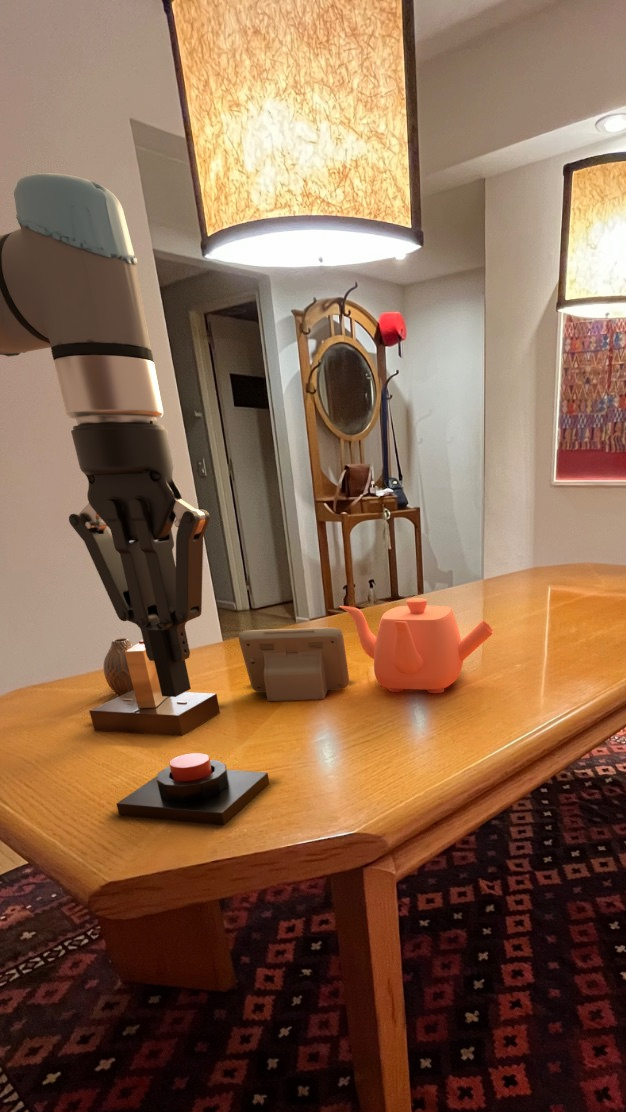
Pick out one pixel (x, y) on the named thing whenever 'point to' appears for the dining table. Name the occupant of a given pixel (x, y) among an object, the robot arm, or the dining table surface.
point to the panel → (155, 714)
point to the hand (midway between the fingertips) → (176, 692)
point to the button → (190, 767)
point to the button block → (195, 796)
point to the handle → (144, 677)
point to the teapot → (417, 645)
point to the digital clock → (295, 662)
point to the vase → (118, 667)
